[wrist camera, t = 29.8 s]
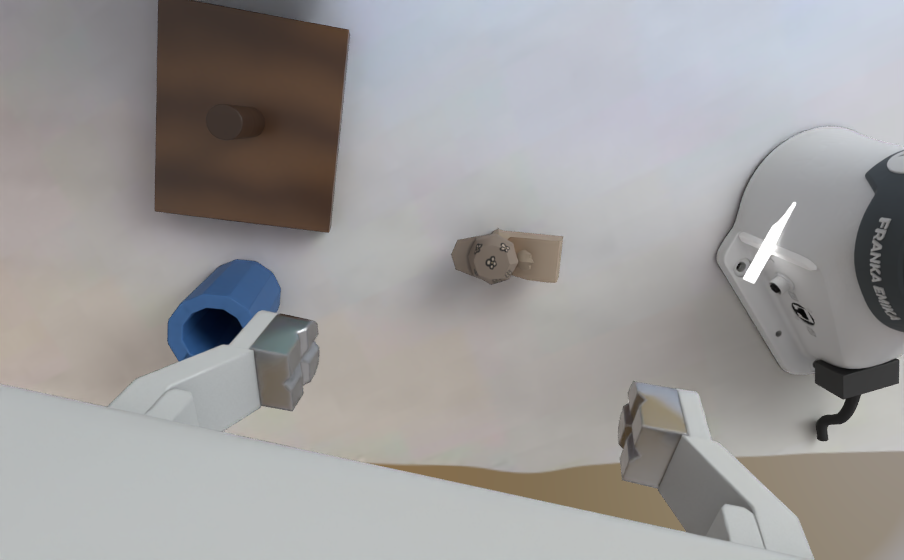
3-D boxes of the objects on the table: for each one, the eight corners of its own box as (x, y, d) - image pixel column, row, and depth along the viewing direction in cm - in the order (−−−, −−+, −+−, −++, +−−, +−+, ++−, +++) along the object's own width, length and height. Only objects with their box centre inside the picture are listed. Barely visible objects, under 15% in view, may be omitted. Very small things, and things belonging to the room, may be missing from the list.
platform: (330, 227, 43) (321, 254, 34) (164, 207, 40) (109, 230, 32) (350, 34, 39) (344, 9, 31) (168, 0, 37) (108, -37, 28)
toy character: (468, 219, 46) (448, 230, 41) (565, 229, 44) (558, 242, 39) (465, 266, 47) (445, 283, 42) (559, 278, 45) (551, 297, 40)
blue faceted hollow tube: (277, 329, 44) (255, 378, 36) (206, 322, 43) (166, 372, 35) (282, 264, 43) (261, 299, 34) (209, 256, 42) (168, 290, 33)
